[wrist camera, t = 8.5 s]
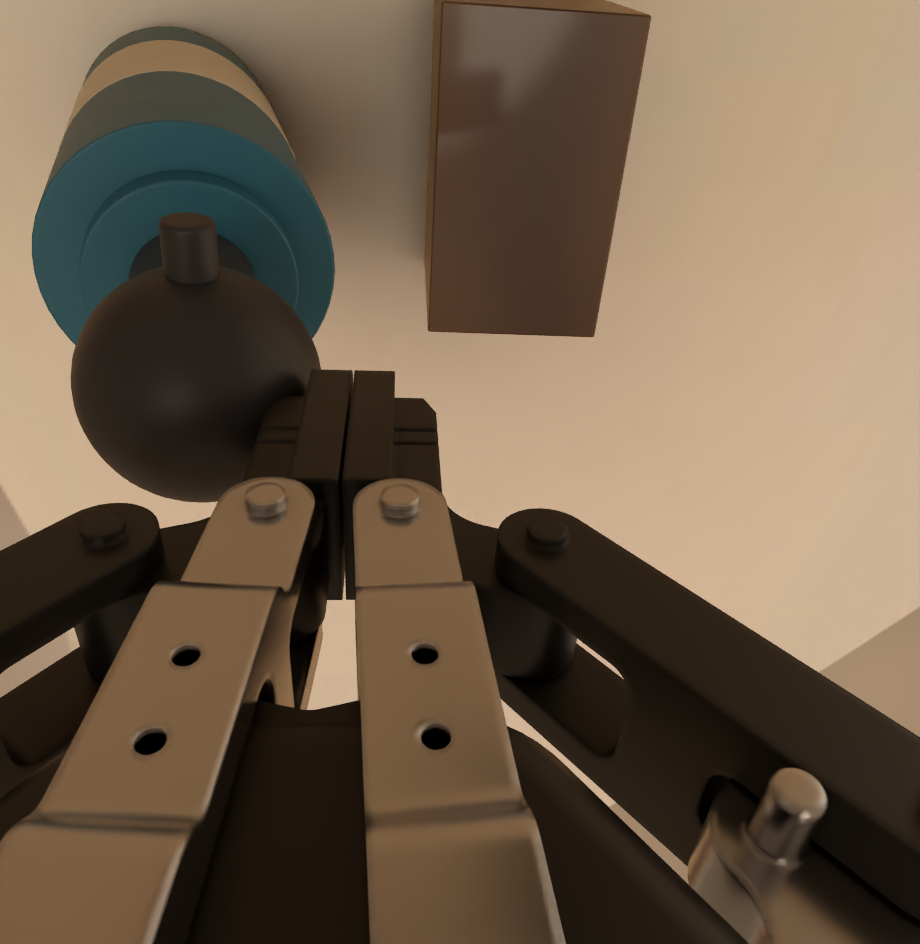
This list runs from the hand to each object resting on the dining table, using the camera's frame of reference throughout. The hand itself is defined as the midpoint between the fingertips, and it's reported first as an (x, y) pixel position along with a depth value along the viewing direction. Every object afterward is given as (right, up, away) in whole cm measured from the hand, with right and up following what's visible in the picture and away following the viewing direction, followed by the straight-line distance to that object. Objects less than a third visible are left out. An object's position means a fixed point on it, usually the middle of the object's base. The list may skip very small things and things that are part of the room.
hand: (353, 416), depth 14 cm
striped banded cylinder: (-2, +11, +15) cm, 18 cm away
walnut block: (+4, +12, +16) cm, 20 cm away
